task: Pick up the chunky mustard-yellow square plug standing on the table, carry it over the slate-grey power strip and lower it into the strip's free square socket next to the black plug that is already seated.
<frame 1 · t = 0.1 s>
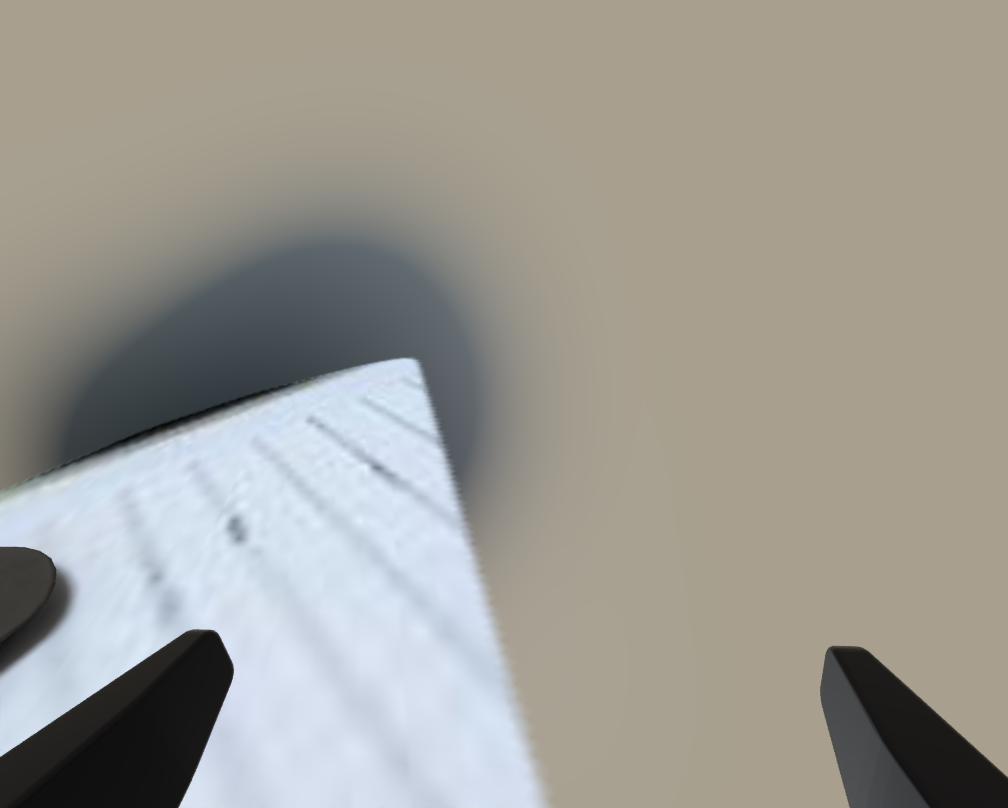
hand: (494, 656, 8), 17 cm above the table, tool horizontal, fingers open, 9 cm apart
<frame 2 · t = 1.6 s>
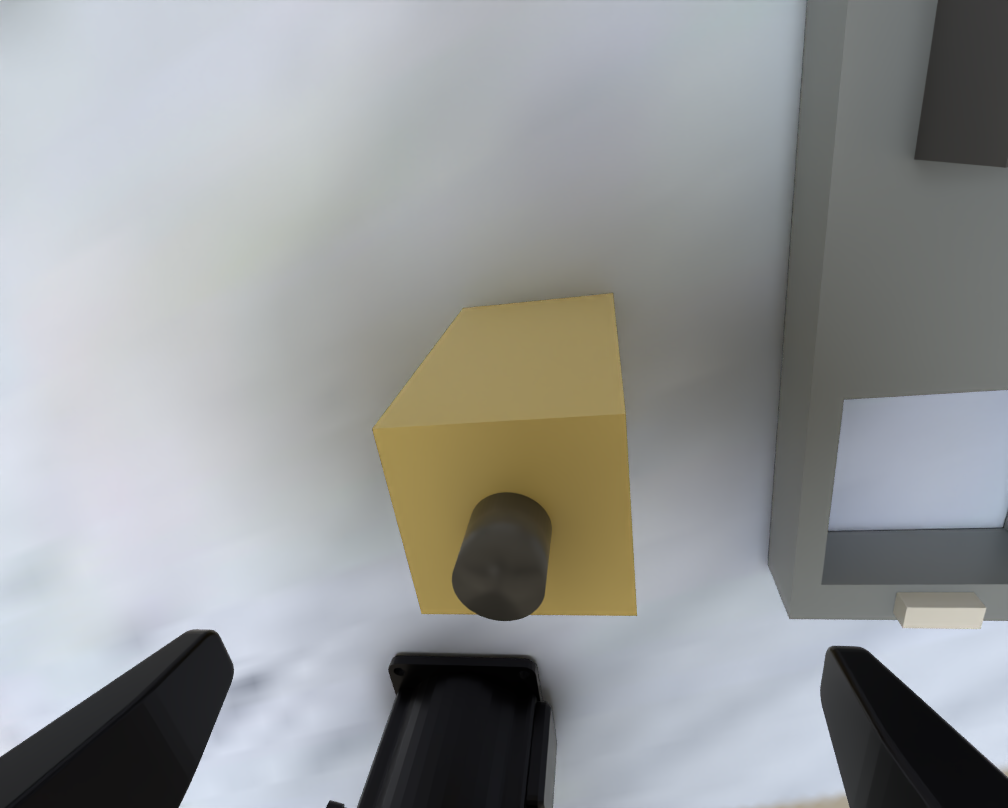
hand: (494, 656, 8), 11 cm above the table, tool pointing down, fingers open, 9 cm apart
plug: (544, 370, 18), on the table
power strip: (943, 271, 15), on the table
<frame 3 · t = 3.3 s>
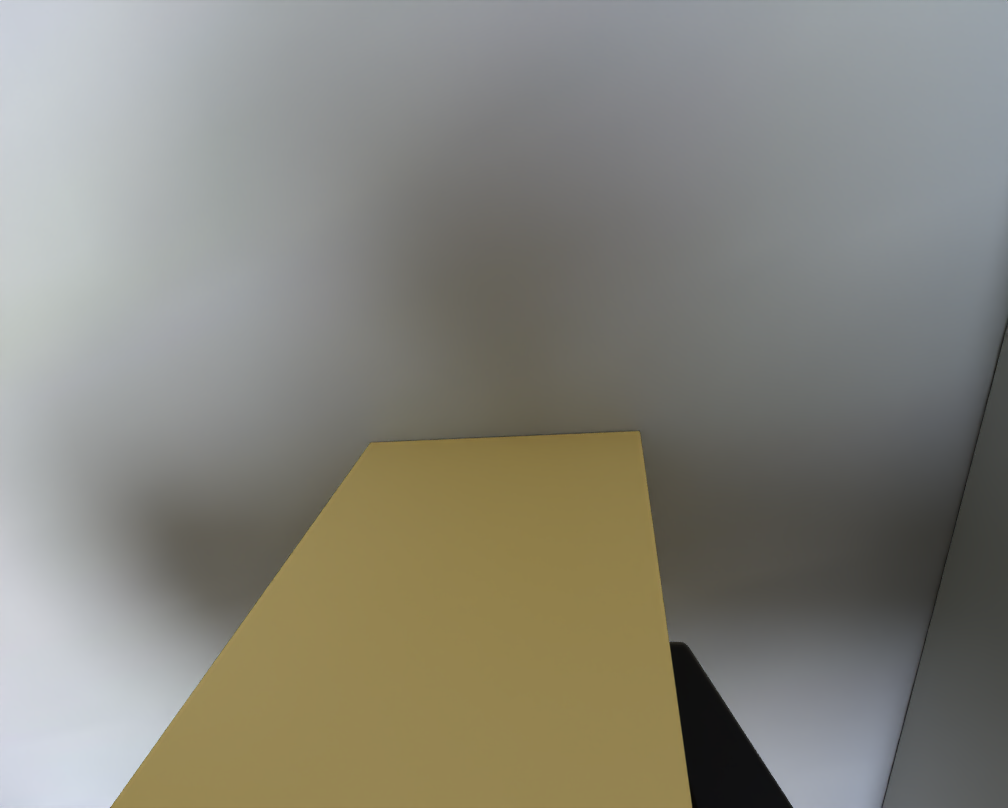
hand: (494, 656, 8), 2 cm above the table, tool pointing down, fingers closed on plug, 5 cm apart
plug: (515, 545, 10), on the table, touching gripper
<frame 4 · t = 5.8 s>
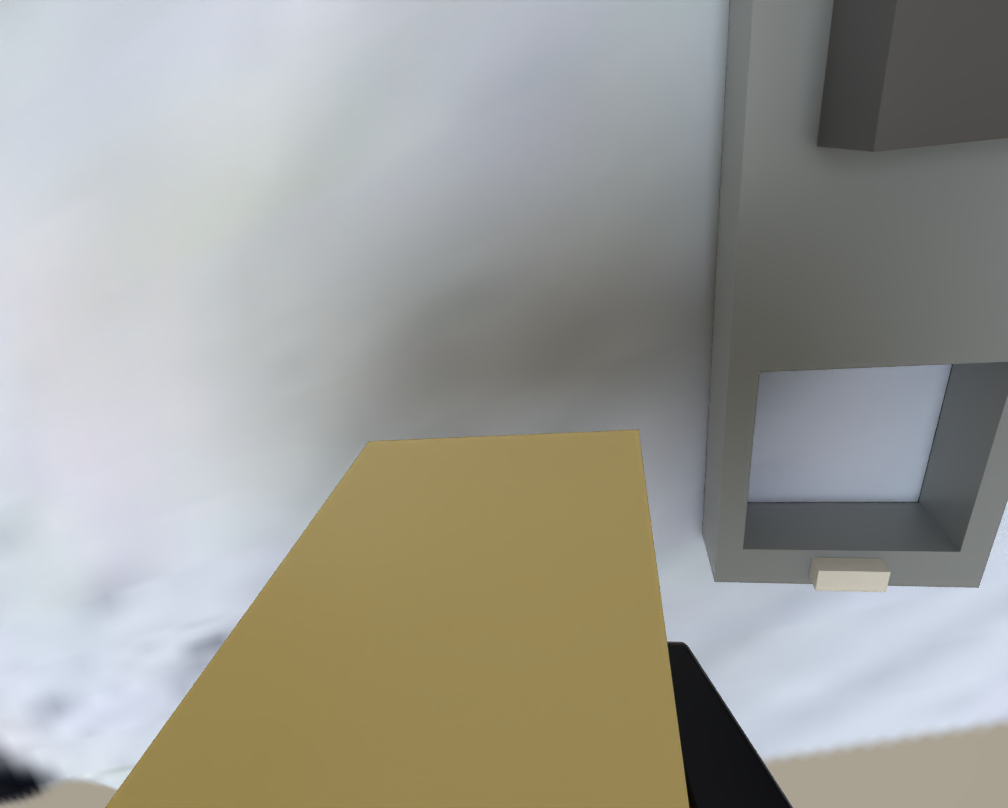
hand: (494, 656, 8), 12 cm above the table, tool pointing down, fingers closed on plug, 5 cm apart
plug: (514, 544, 10), point 10 cm above the table, touching gripper
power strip: (859, 256, 16), on the table
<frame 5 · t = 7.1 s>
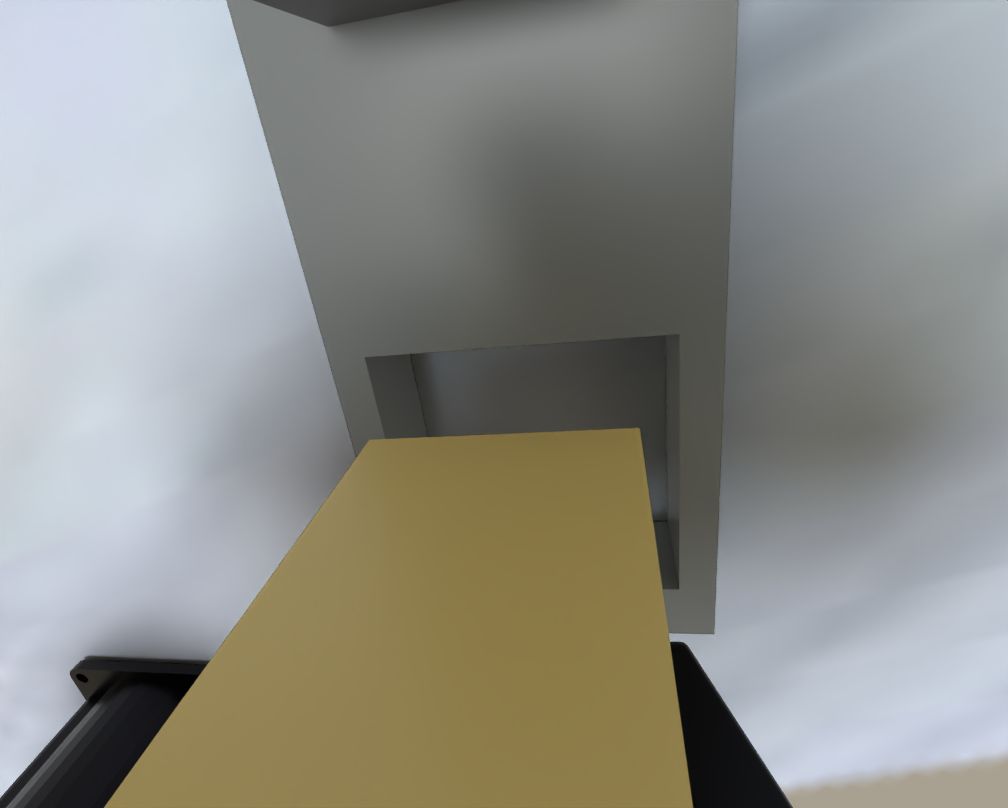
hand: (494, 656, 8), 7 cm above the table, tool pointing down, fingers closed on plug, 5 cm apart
plug: (515, 543, 10), point 5 cm above the table, touching gripper
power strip: (515, 200, 12), on the table
when the fingers open (3 cm above the table, at t = 8.3 s): plug stays where it is, resting in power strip.
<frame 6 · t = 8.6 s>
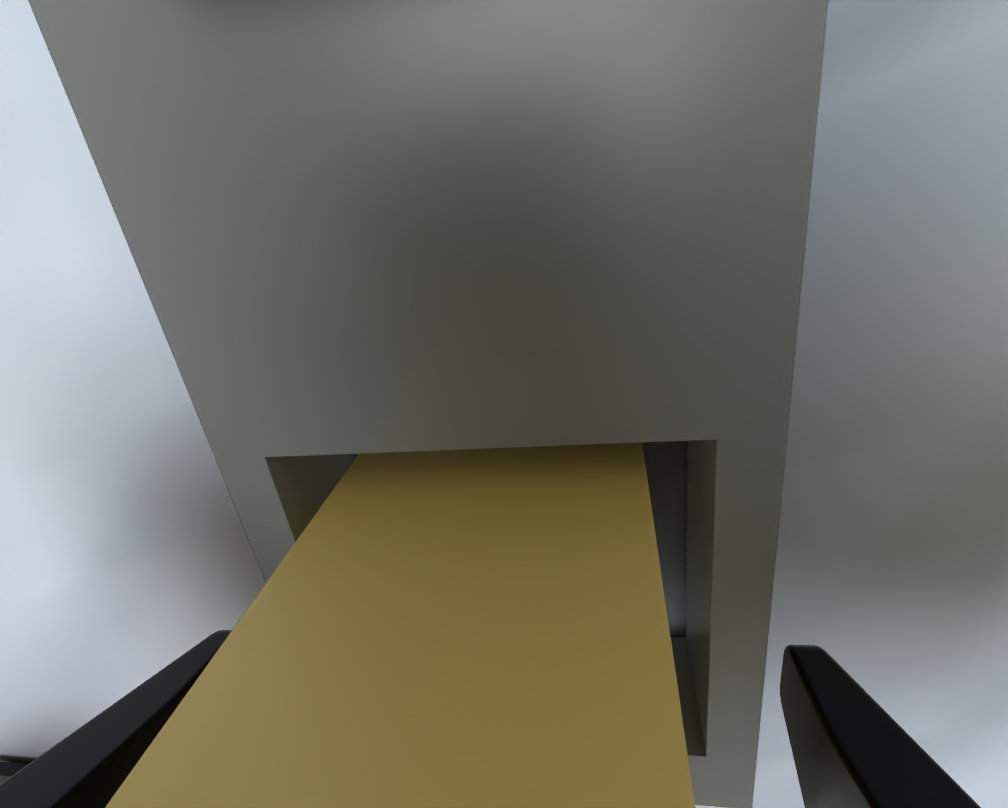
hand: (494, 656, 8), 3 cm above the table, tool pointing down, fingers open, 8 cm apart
plug: (520, 516, 11), resting in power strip
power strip: (480, 232, 9), on the table
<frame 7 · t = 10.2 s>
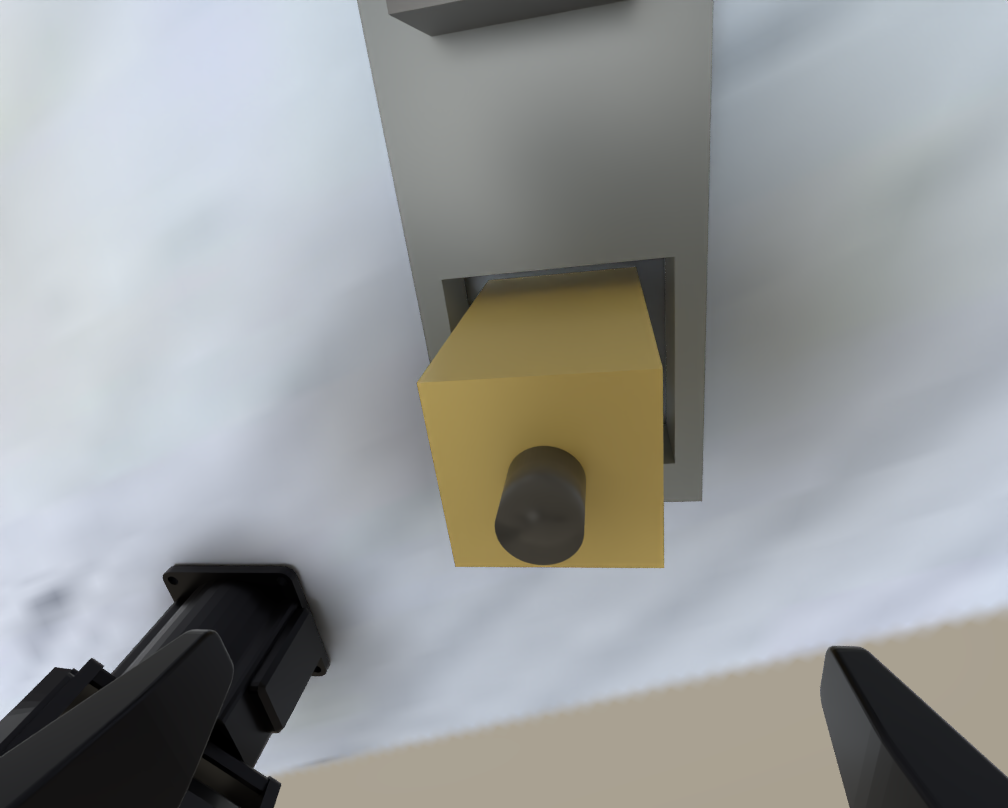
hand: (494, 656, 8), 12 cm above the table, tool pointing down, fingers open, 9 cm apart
plug: (566, 343, 19), resting in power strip
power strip: (551, 165, 16), on the table
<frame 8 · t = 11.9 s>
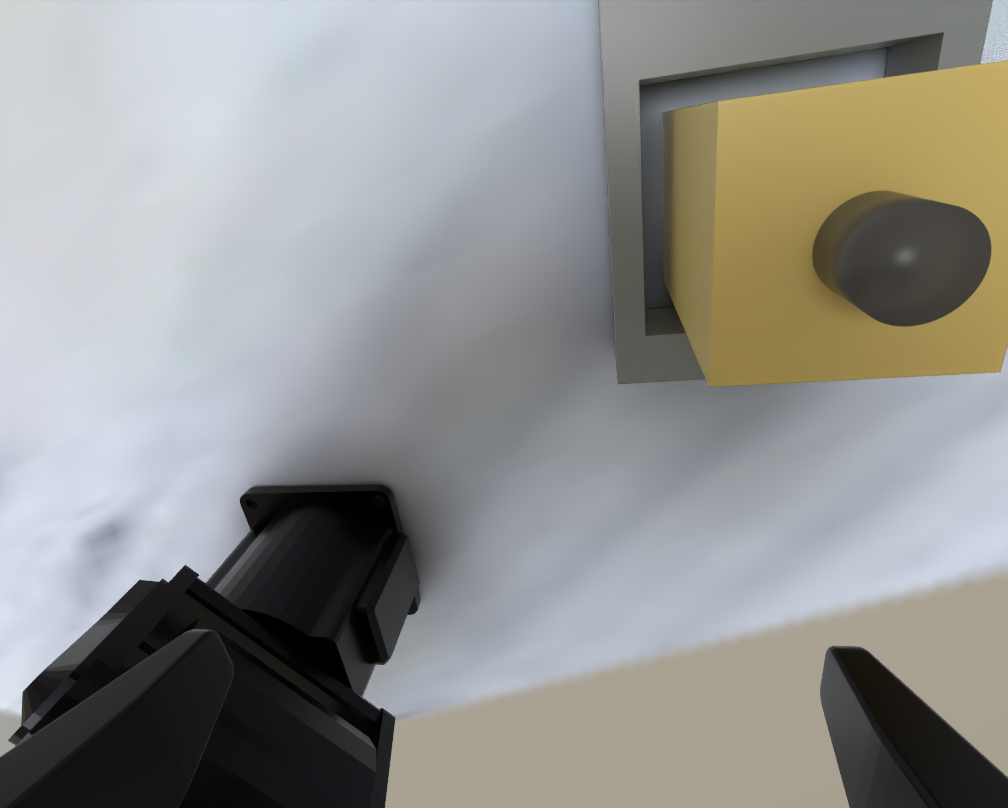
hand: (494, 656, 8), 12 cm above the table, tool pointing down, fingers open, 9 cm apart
plug: (747, 191, 16), resting in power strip
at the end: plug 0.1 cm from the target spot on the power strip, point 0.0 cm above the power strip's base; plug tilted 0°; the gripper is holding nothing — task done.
